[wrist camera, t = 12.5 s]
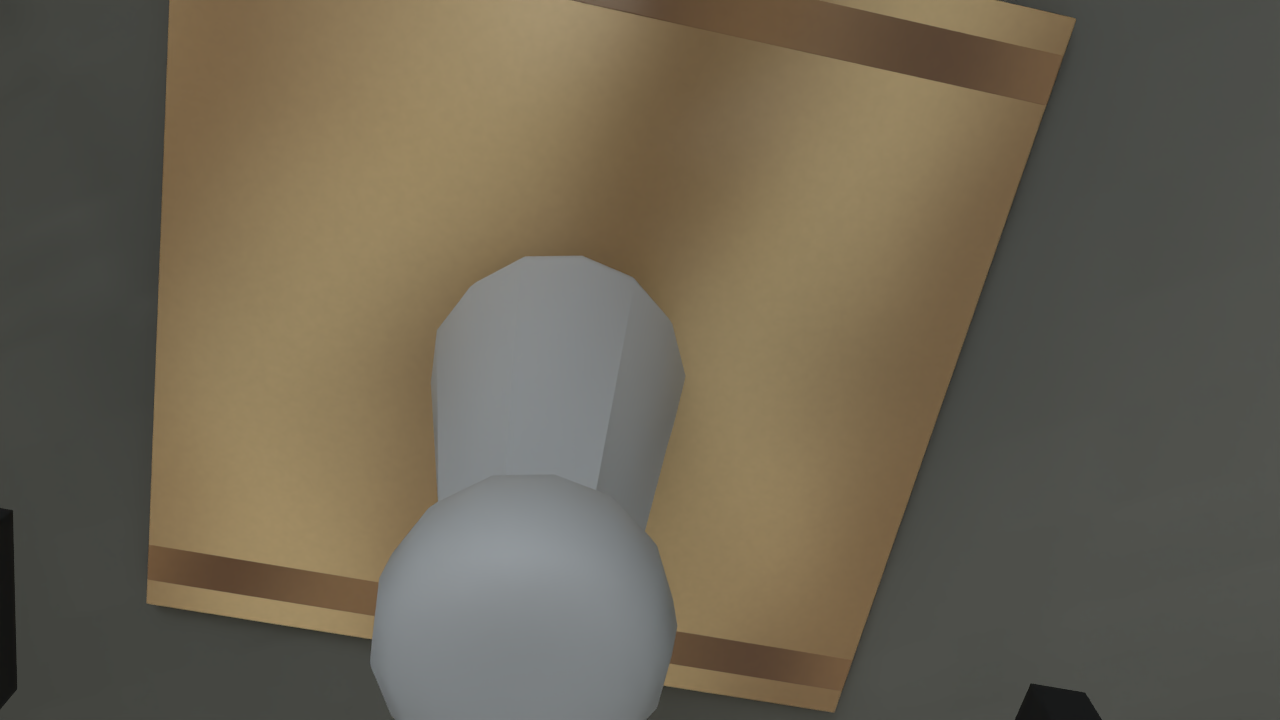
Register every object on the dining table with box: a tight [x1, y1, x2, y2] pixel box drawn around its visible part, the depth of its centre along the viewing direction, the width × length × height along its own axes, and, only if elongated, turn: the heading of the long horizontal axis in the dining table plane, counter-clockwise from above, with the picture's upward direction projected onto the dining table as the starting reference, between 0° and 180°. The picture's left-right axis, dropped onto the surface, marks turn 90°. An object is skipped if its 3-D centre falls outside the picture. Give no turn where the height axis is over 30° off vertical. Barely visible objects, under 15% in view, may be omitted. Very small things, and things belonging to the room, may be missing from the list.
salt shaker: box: [370, 256, 685, 720], centre depth 19 cm, size 6×6×13 cm
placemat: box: [147, 0, 1076, 712], centre depth 25 cm, size 20×20×1 cm
